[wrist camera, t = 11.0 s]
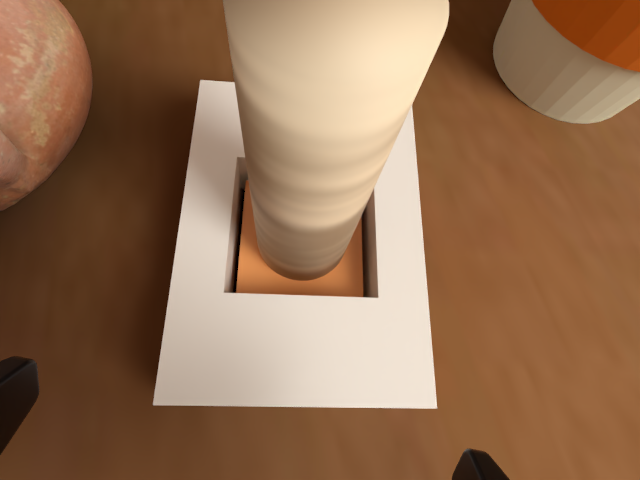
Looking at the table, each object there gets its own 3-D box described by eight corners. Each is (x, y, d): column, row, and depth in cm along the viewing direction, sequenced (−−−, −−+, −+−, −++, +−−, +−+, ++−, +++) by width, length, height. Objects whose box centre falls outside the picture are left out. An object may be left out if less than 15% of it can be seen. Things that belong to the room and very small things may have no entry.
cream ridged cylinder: (362, 257, 18) (492, 39, 7) (280, 296, 17) (284, 114, 6) (321, 184, 19) (378, -103, 8) (242, 217, 18) (186, -57, 7)
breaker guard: (412, 406, 18) (437, 408, 15) (173, 404, 17) (152, 405, 14) (395, 132, 23) (411, 95, 20) (210, 120, 22) (200, 79, 19)
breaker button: (357, 305, 19) (363, 298, 18) (239, 301, 19) (235, 294, 17) (355, 200, 21) (360, 186, 20) (248, 195, 21) (245, 180, 19)
